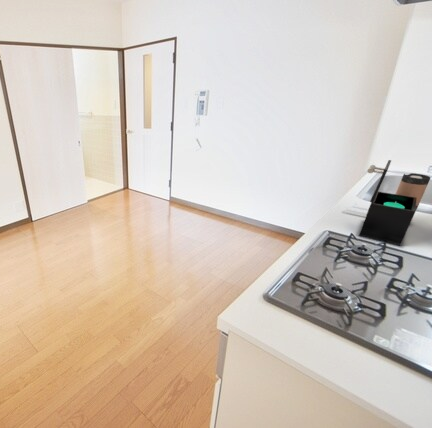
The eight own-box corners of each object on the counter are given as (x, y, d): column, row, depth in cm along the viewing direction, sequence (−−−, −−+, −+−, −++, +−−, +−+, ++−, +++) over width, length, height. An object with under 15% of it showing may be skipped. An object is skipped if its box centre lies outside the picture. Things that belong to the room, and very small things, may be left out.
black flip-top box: (402, 229, 111) (416, 197, 105) (399, 246, 101) (415, 211, 95) (364, 221, 119) (376, 191, 113) (358, 235, 108) (370, 203, 103)
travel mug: (410, 227, 112) (431, 180, 104) (384, 222, 117) (403, 176, 109) (409, 220, 117) (430, 175, 109) (385, 215, 122) (403, 172, 114)
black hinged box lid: (391, 160, 107) (373, 157, 110) (387, 170, 97) (368, 167, 100) (377, 190, 113) (361, 187, 116) (372, 202, 102) (354, 198, 106)
